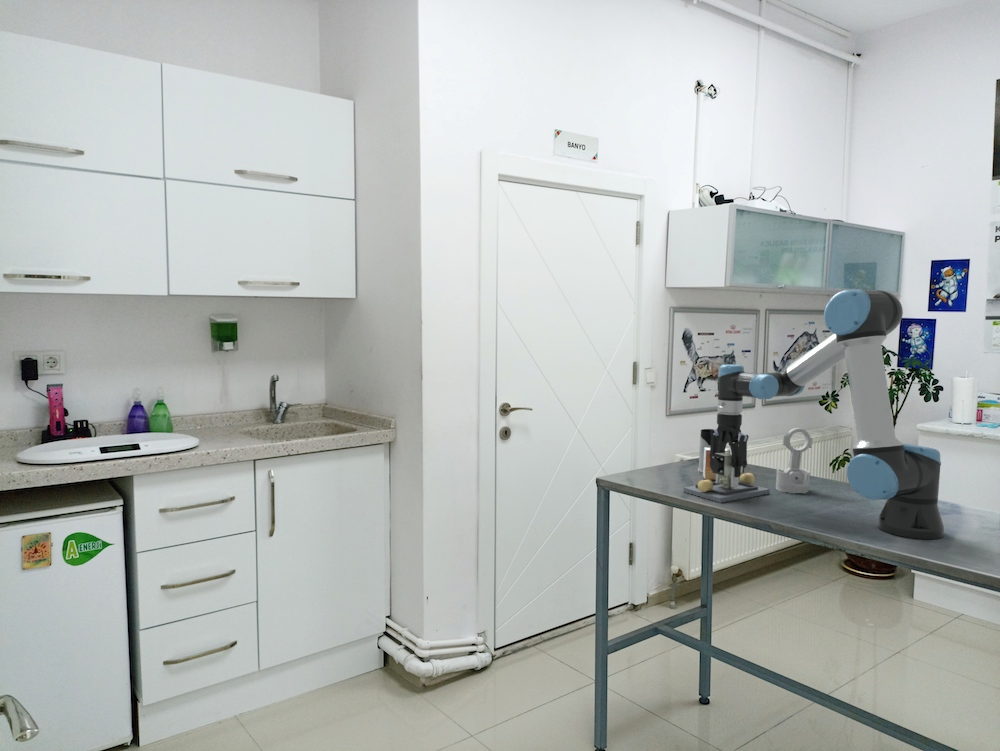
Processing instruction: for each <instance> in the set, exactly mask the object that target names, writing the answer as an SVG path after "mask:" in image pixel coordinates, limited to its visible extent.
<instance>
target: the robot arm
mask: <svg viewBox="0 0 1000 751" xmlns="http://www.w3.org/2000/svg"><path fill="white" fill-rule="evenodd" d="M903 313H904V311H903V306H902V304H901V301H900V300H899V298H897V296H895V295H894V294H892V293H890V292H888V291H885V290H871V289H870V290H868V289H858V288H854V289H845V290H841V291H838V292H837V293H836V294H834V295H833V296H832V297H831V298H830V300H828V302H827V304H826V306H825V308H824V311H823V320H824V324H825V326H826V328H827V330H829V331H830V332H831V333H832V334H831V335H829V337H827V338H825V339H824V340H823V341H821V342H820V343H819V344H817V345H816V346H815V347H813V348H812V349H810V350H809V351H807V352H806V353H805V354H803V355H802V356H800V357H799V358H797V359H796V360H795V361H793V362H792V363H790V364H789V365H788V366H786V367H785V368H783V369H782V370H781V371H778V372H775V371H774V372H745V369H744V366H743V365H741V364H722V365H719V369H718V377H717V381H718V382H717V384H718V386H717V389H718V390H717V395H718V396H717V412H718V413H717V414H716V425H717V428H715V429H714V428H713V429H714V430H710V435H711V445H710V459H712V457H713V453H724V452H725V448H727V444H728V446H729V447H730V452H731V454H732V459H733V465H734V466H732V467H731V475H730V477H731V487H738V483H739V481H740V476H741V474H742V473H740V472H741V467H742V466H746V465H748V459H747V458H748V456H747V455H748V450H747V449H748V440H749V435H748V434H744V433H743V432H742V431H741V426H742V425H743V423H742V422H743V415H742V413H743V397H747V398H755V399H759V400H770V399H773V398H775V397H793V396H796V395H799V394H801V393H802V392H803V391H804V389H805V386H806V385H808V383H810V382H812V381H813V380H815V379H816V378H817V377H819V376H821V375H823V373H825V372H827V371H829V369H832V367H834V366H836V365H837V364H839V363H841V362H842V361H843V360H844V359H845V363H846V369H847V370H846V371H847V376H848V382H849V390H850V391H849V392H850V396H851V403H852V409H853V410H852V411H853V416H854V417H853V418H854V422H855V423H854V424H855V430H856V436H857V441H856V442H855V444H854V445H853V446H852V453H853V457H852V458H851V459H850V461H849V463H848V464H847V466H846V477H847V481H848V483H849V485H850V487H851V488H852V489H853V490H854V491H855V492H856V493H858V495H859V496H861V497H863V498H865V499H867V500H873V501H874V500H875V501H878V500H883V501H884V502H885V503H884V504H883V507H882V509H881V512H880V513H879V516H878V519H877V520H878V522H877V527H878V528H879V530H881V531H882V532H883V531H884V532H886V533H888V534H892V535H895V536H900V537H902V538H903V537H904V538H911V539H920V540H921V539H922V540H935V539H936V540H937V539H941V538H943V537H944V534H945V526H944V522H943V520H942V519H943V518H942V516H941V513H940V510H939V506H938V504H939V501H938V500H939V488H940V477H941V476H940V474H941V466H942V461H941V452H940V451H939V450H938V449H937V448H933V447H927V446H921V445H915V444H909V443H903V442H902V441H900V440H899V439H898V438H897V437H896V433H895V427H894V426H895V425H894V420H893V414H892V413H893V412H892V407H891V401H890V394H889V386H888V380H887V375H886V369H885V368H886V366H885V362H884V354H883V348H882V344H883V343H884V341H885V340H886V339H887V337H888V335H890V333H892V332H893V331H894V330H895V329H896V328H897V327H898V326H899V325H900V323H901V321H902V319H903ZM746 467H747V466H746ZM721 476H723V475H719V474H716V480H715V482H716V483H717V484H718V483H719V481H720V477H721Z"/></svg>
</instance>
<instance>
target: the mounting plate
mask: <svg viewBox="0 0 1000 751" xmlns="http://www.w3.org/2000/svg"><path fill="white" fill-rule="evenodd" d="M755 480H756V477H755V476H754V474H753V473H751V472H744V473H741V474H740V477H739V483H738V487H735V488H728V489H727V488H725V487H721V486H720V484H719V483H718V484H717V483H716V481H712V479H704V480H703V479H702V480H699V481H698V482H697V484H695V485H690V486H684V487H683V493H685V492H686V494H688V493H689V495H692V494H693V495H692V496H695V495H696V497H698V496H700V497H699V498H702V497H703V498H702V499H705V498H706V500H709V499H710V500H709V501H712V500H713V501H712V502H715V501H716V503H718V504H722V502H723V503H727V501H728V502H732V500H733V501H737V500H738V499H739V500H743V499H748V498H754V496H755V497H758V496H765V495H769V494H770V493H771V492H770V491H771V489H770V488H767V487H762V486H759V485H755V484H754V483H755ZM764 494H765V495H764Z"/></svg>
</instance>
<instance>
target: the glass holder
mask: <svg viewBox="0 0 1000 751" xmlns="http://www.w3.org/2000/svg"><path fill="white" fill-rule="evenodd" d="M710 430H714V428H704V429H700V437H699V456H698V457H699V458H698V468H697V471H698V472H699V471H700V473H702V472H703V464H704V447H707V448H710V445H711V435H710Z"/></svg>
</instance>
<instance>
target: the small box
mask: <svg viewBox="0 0 1000 751" xmlns="http://www.w3.org/2000/svg"><path fill="white" fill-rule="evenodd" d="M727 450H729V449H728V448H727V447H726V448H725V452H727ZM710 460H711V459H710V448H707V447H704V464H703V473H702V476H703V479H704V480H708V479H709V480H715V481H716V473H712V470H711V468H710ZM723 476H726V475H723Z"/></svg>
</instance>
